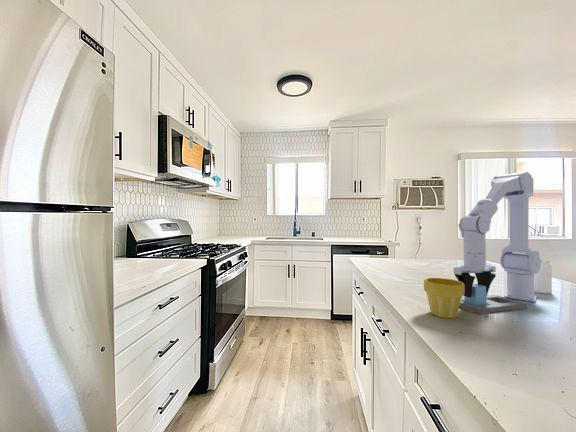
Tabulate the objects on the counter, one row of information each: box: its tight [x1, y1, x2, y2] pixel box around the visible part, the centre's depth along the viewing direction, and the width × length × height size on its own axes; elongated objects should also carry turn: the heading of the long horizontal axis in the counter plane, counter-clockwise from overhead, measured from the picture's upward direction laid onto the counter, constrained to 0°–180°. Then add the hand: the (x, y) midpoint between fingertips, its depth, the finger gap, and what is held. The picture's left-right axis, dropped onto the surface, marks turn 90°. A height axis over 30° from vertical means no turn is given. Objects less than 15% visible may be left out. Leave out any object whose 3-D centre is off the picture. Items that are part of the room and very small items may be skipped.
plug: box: [464, 282, 486, 306], centre depth 83 cm, size 4×4×7 cm
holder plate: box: [459, 294, 528, 315], centre depth 84 cm, size 10×19×2 cm, turn 104°
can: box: [534, 259, 553, 295], centre depth 100 cm, size 6×6×12 cm
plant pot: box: [423, 277, 465, 319], centre depth 77 cm, size 10×10×10 cm
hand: (475, 295), depth 83 cm, fingers open, 6 cm apart
